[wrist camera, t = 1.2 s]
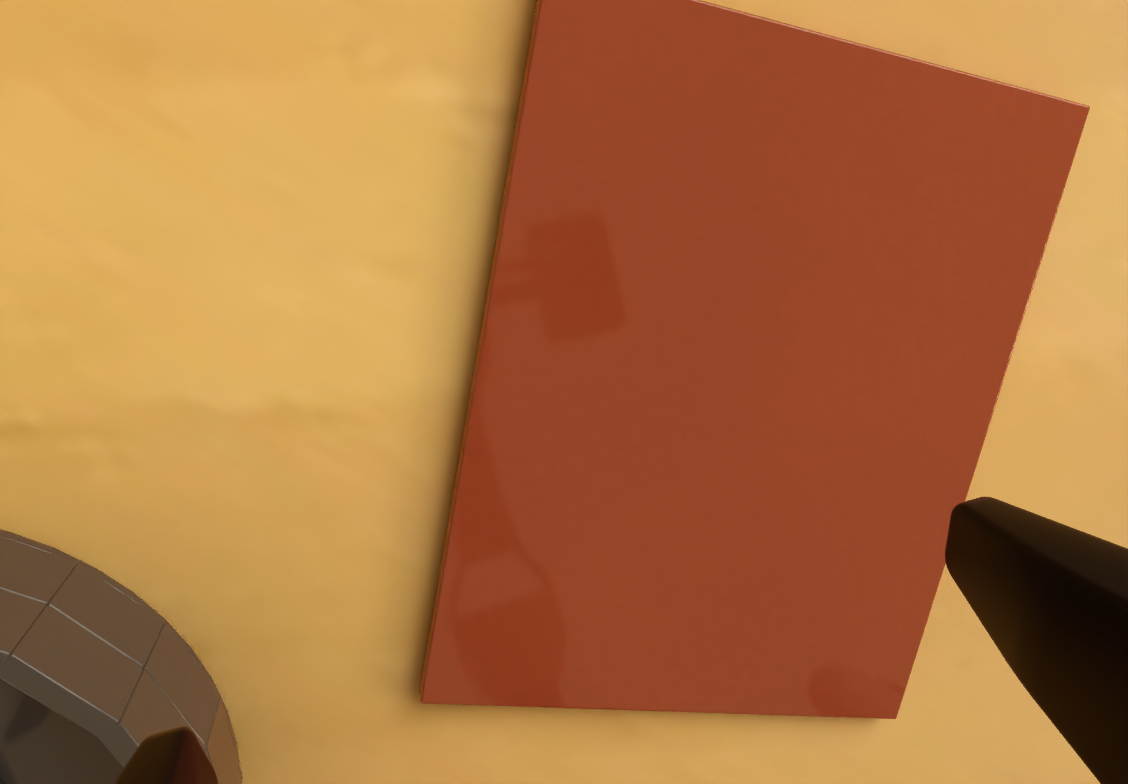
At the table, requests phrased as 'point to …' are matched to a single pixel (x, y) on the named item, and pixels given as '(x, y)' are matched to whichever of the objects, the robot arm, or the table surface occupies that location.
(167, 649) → the pan
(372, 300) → the table surface
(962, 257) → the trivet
